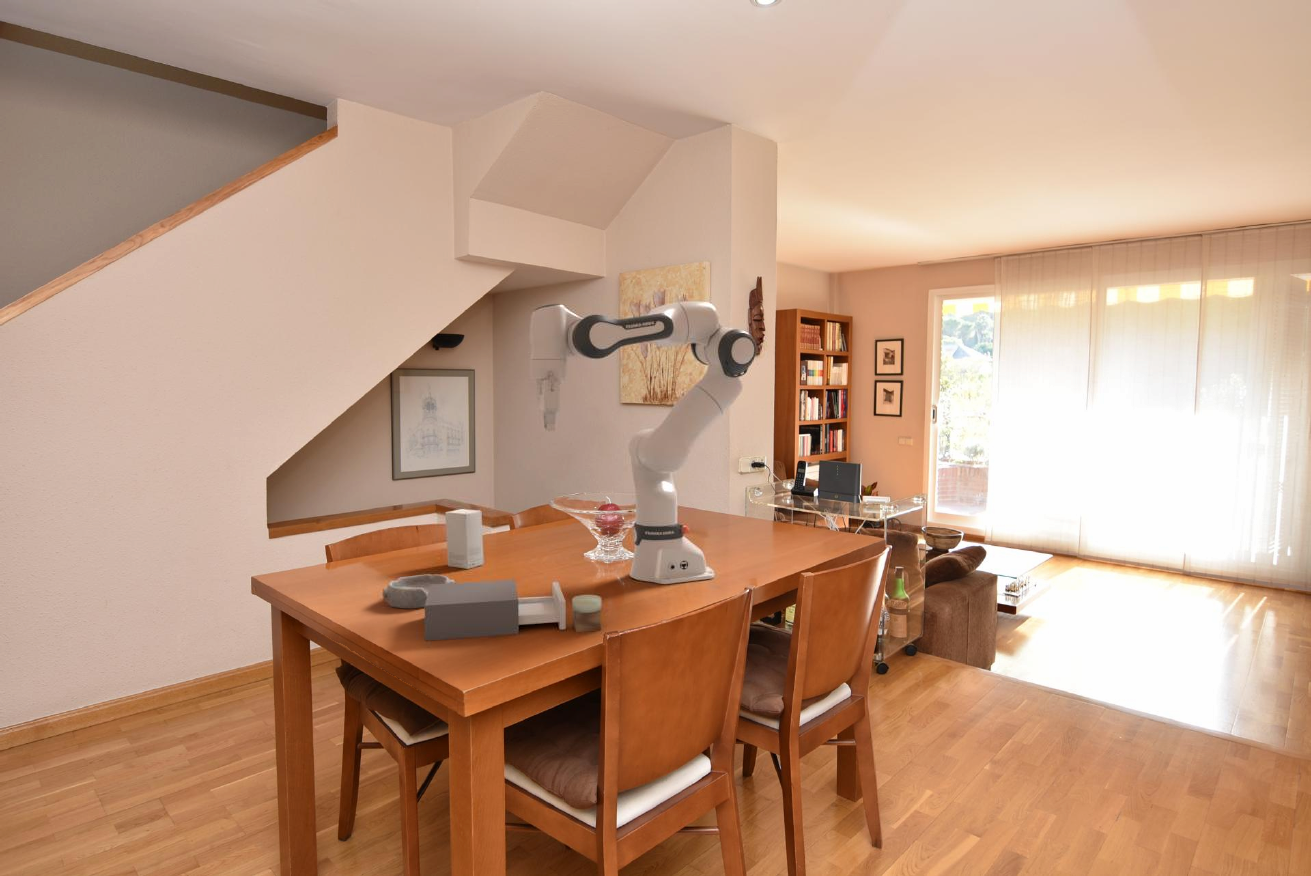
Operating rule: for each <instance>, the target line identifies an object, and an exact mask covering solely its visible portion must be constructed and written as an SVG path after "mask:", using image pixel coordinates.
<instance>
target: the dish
mask: <svg viewBox="0 0 1311 876" xmlns="http://www.w3.org/2000/svg"><path fill="white" fill-rule="evenodd" d="M448 583H455V580H454V579H450V578H449V577H447V576H445V575H442V574H436V573H435V574H429V573H428V574H419V575H412V576H403V577H398V578H397V579H396V580H391V581H390V582H389V583H388V584H387V587H384V588H383V589H382V597H383V599H385V600H386V603H387V605H389V606H390V607H392V608H399V609H419V608H421V609H422V608H425V602H426V599H427V595H428V592H429V588H430V584H448Z"/></svg>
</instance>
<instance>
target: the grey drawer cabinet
mask: <svg viewBox="0 0 1311 876" xmlns="http://www.w3.org/2000/svg"><path fill="white" fill-rule="evenodd" d="M518 598H519V596H518V589H517V584H516V580H515V579H506V580H505V579H504V580H502V579H501V580H485V581H469V582H467V581H466V582H454V583H448V584H430V588H429V592H428V595H427V599H426V602H425V607H424V639H425V640H424V641H425V642H426V641H427V642H428V641H441V640H451V639H452V640H453V639H467V638H470V639H471V638H481V637H483V638H484V637H495V636H507V635H519V633H520V631H519V626H520V625H519V616H518Z"/></svg>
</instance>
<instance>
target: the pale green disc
mask: <svg viewBox="0 0 1311 876" xmlns="http://www.w3.org/2000/svg"><path fill="white" fill-rule="evenodd" d="M571 599H572V603H571V604H572V605H571V607H572V611H573V610H574V611H576V612H581V613H590V612H596V611H599V610H602V596H599V595H595V594H581V595H575V596H574V597H572V598H571Z"/></svg>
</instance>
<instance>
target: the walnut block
mask: <svg viewBox="0 0 1311 876" xmlns="http://www.w3.org/2000/svg"><path fill="white" fill-rule="evenodd" d="M601 610H602V609H601ZM601 610H599V611H596V612H590V613H581V612H576V611H574V610H573V609H572V611H573V612H572V613H573V616H572V617H573V621H572V622H573V623H572V624H573V627H574V629H575V632H576V633H579V632H580V633H582V632H593V631H596V632H597V631H601V630H602V629H601V628H602V627H601V626H602V619H601V618H602V617H601V616H602V611H601Z"/></svg>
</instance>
